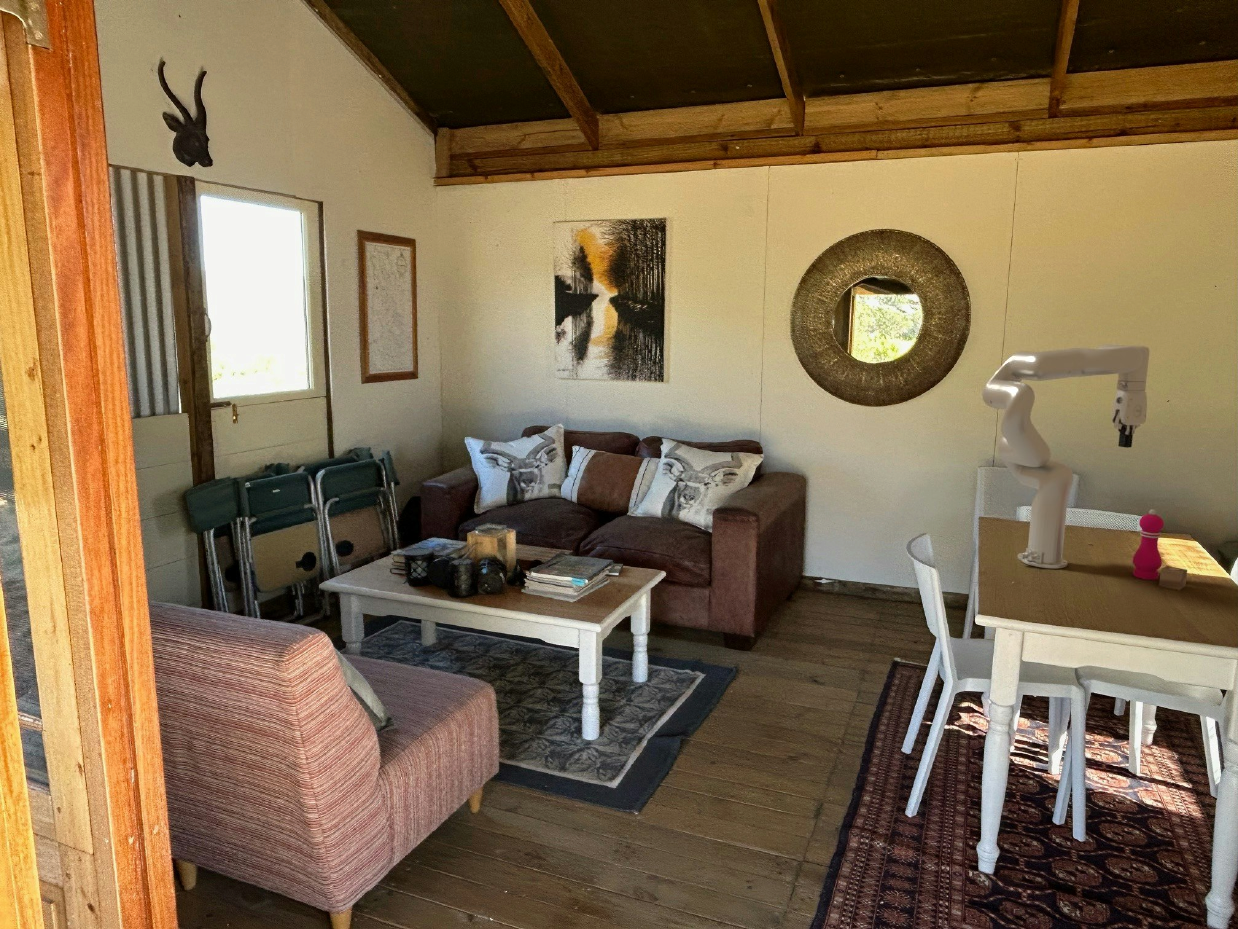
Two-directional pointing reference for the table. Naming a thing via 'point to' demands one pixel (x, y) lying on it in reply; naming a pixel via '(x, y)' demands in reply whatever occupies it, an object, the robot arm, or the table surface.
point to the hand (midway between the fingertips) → (1124, 446)
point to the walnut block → (1173, 577)
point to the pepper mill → (1148, 547)
